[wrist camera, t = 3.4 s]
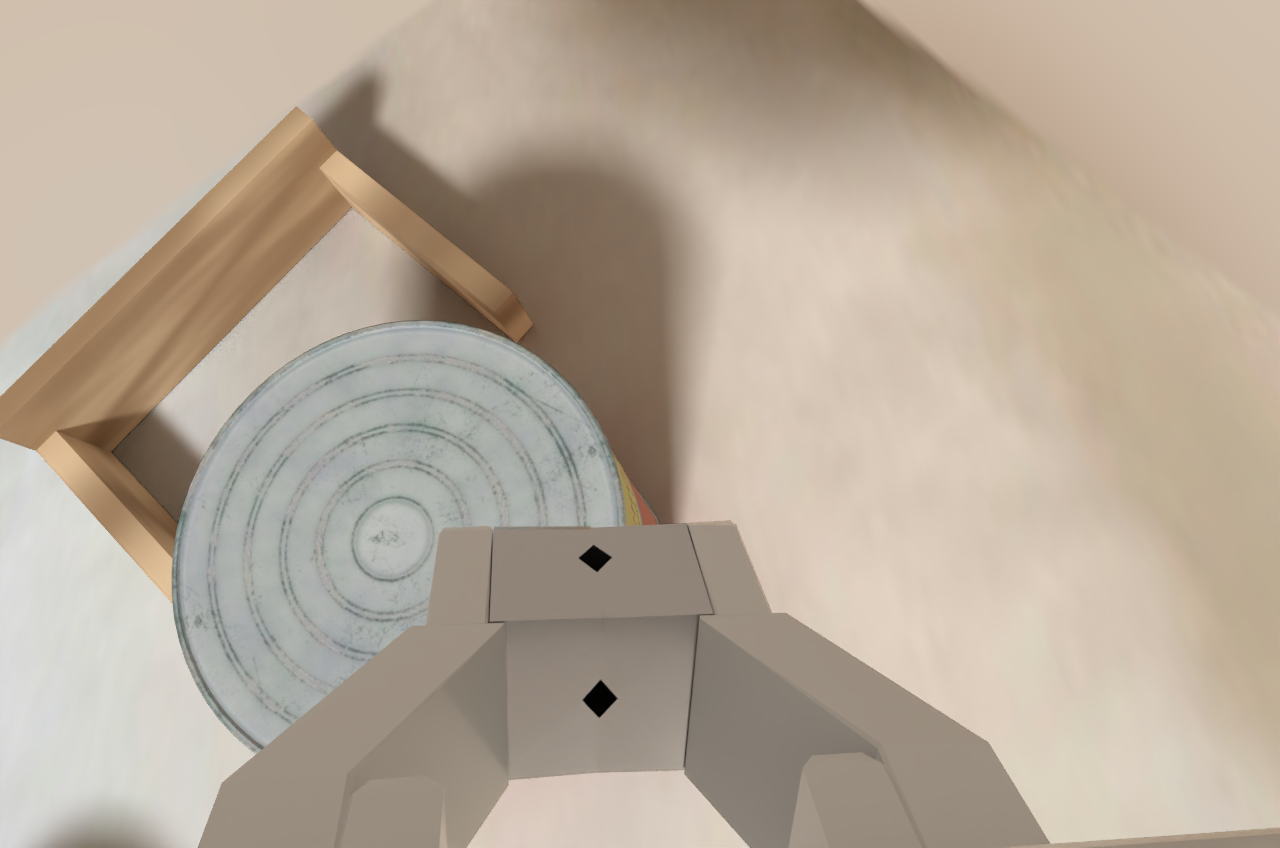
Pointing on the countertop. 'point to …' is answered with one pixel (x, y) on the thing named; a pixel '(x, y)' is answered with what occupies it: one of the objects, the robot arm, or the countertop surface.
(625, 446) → the countertop surface
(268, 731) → the canned food
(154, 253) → the cradle
